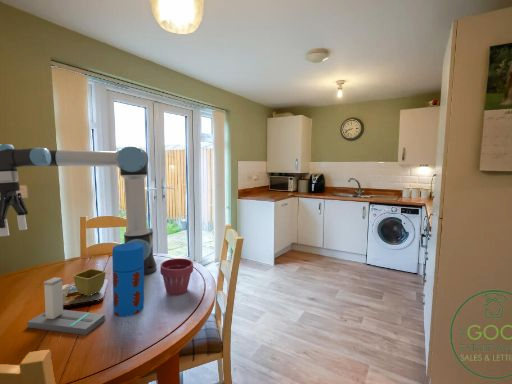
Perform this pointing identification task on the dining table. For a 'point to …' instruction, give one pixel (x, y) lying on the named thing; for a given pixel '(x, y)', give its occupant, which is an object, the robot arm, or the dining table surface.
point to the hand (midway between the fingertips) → (14, 232)
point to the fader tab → (53, 297)
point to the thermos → (128, 279)
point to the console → (68, 322)
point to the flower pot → (89, 281)
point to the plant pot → (176, 275)
